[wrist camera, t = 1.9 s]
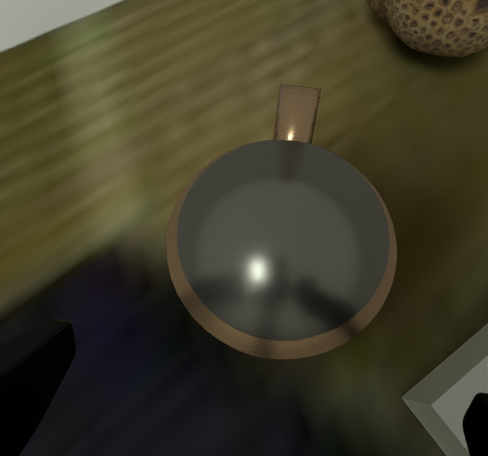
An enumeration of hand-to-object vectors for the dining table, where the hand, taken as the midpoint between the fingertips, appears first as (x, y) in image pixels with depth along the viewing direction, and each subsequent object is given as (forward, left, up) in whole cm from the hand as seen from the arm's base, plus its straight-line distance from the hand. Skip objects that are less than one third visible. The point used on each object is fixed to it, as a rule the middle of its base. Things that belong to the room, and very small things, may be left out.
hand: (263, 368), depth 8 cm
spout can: (+2, -2, -10) cm, 11 cm away
